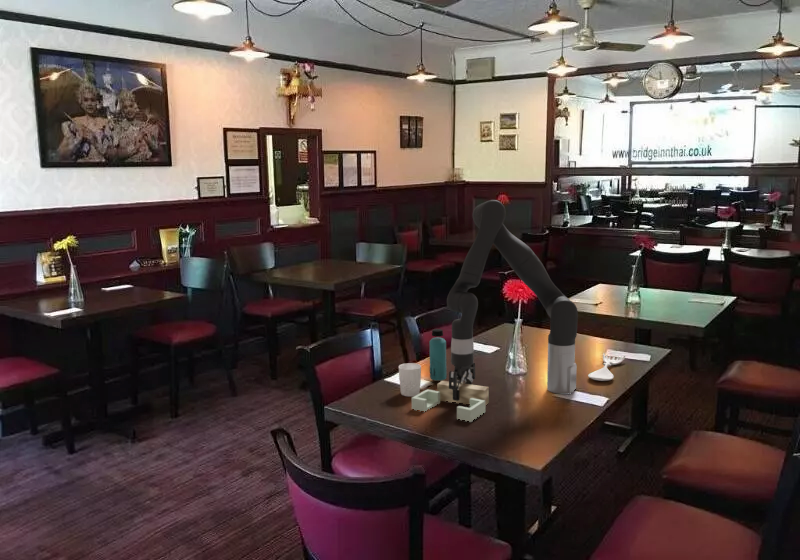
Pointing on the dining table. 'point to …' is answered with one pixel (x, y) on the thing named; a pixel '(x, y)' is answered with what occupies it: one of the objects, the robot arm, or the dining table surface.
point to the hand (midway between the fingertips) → (462, 396)
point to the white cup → (410, 379)
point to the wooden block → (463, 392)
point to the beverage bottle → (437, 356)
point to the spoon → (605, 369)
